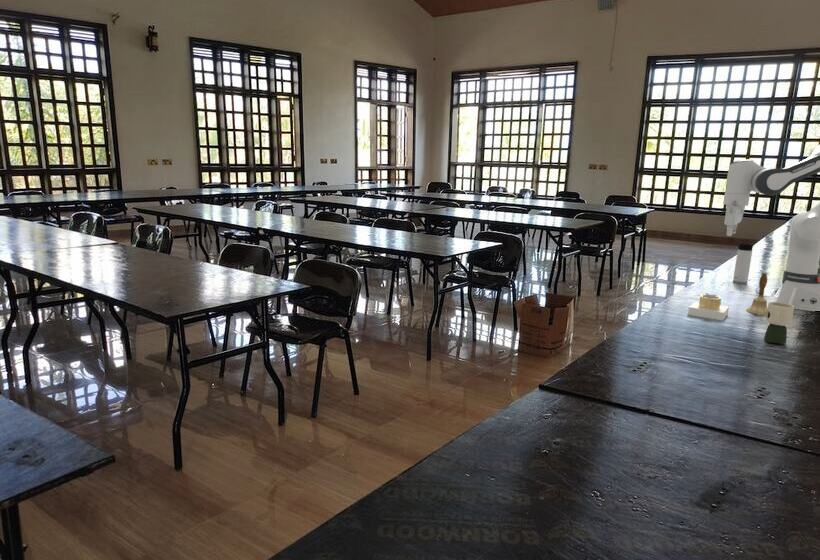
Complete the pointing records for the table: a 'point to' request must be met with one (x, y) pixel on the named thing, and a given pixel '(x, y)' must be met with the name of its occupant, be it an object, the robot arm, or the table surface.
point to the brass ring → (709, 302)
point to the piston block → (708, 310)
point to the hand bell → (760, 299)
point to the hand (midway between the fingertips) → (730, 234)
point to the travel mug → (742, 263)
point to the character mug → (778, 321)
